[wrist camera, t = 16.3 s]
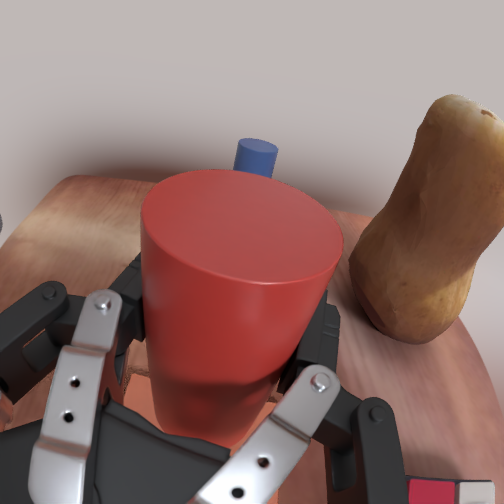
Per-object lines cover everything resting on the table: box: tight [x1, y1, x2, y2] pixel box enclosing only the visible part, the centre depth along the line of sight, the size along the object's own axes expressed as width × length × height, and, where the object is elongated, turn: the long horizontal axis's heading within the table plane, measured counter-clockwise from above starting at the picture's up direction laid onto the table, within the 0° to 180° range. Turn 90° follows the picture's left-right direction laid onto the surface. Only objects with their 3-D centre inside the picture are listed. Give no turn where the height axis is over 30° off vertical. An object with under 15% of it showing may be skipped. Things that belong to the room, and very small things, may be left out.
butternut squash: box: [348, 94, 504, 344], centre depth 26 cm, size 14×13×25 cm
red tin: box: [141, 169, 344, 448], centre depth 11 cm, size 5×5×11 cm
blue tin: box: [233, 138, 278, 178], centre depth 40 cm, size 5×5×11 cm
